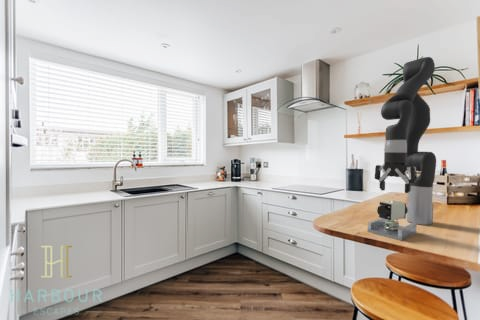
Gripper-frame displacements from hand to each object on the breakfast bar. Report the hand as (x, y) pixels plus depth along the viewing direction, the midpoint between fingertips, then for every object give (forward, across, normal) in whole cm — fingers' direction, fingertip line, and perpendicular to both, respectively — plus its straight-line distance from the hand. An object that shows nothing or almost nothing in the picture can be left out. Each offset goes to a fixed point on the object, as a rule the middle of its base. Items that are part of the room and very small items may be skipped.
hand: (394, 191), depth 95 cm
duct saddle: (+17, 0, 0) cm, 17 cm away
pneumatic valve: (+16, +1, +1) cm, 16 cm away
